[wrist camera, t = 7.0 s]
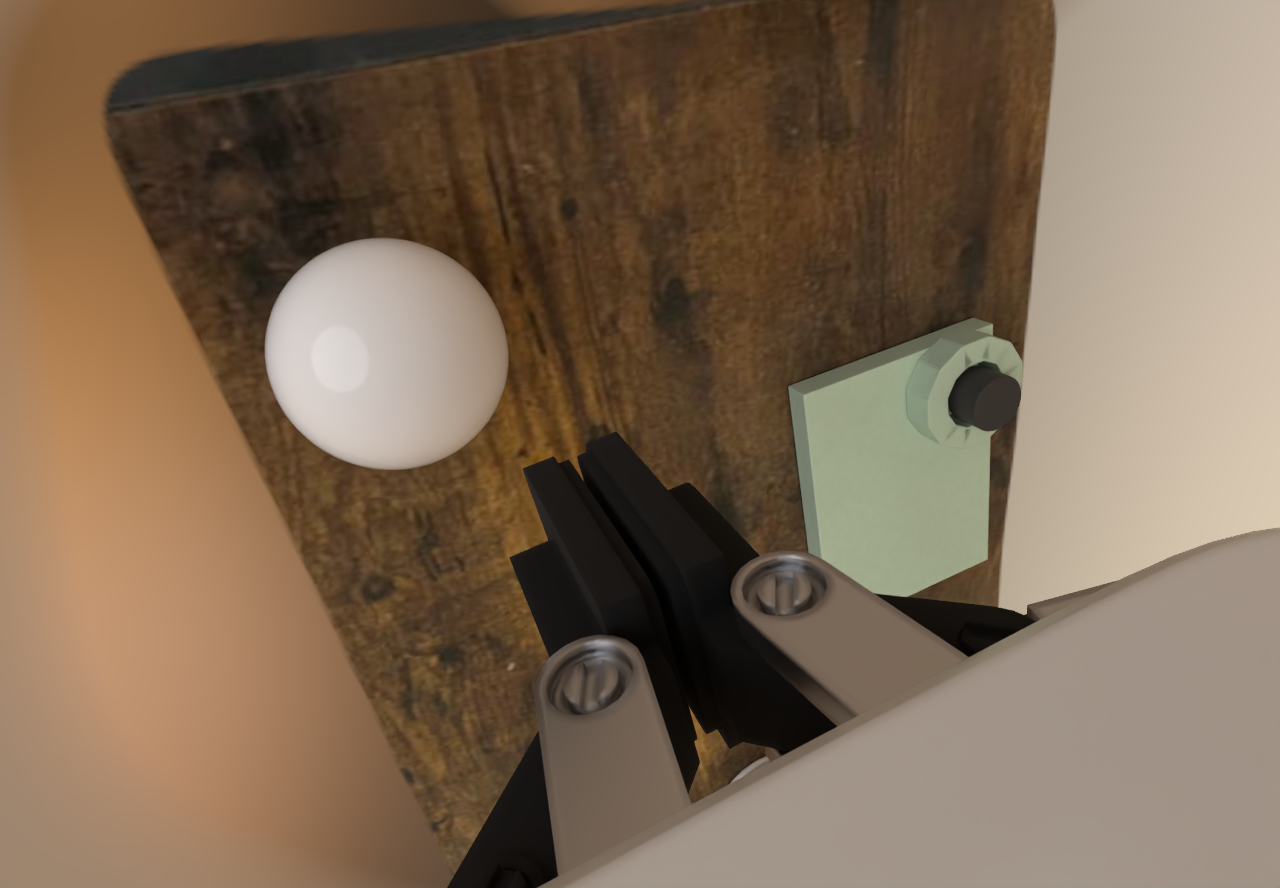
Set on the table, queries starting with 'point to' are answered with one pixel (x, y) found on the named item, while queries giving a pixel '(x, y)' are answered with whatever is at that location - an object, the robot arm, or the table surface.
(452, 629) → the table surface
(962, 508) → the green dial base
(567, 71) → the table surface
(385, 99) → the table surface
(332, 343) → the lightbulb
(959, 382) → the tare button
